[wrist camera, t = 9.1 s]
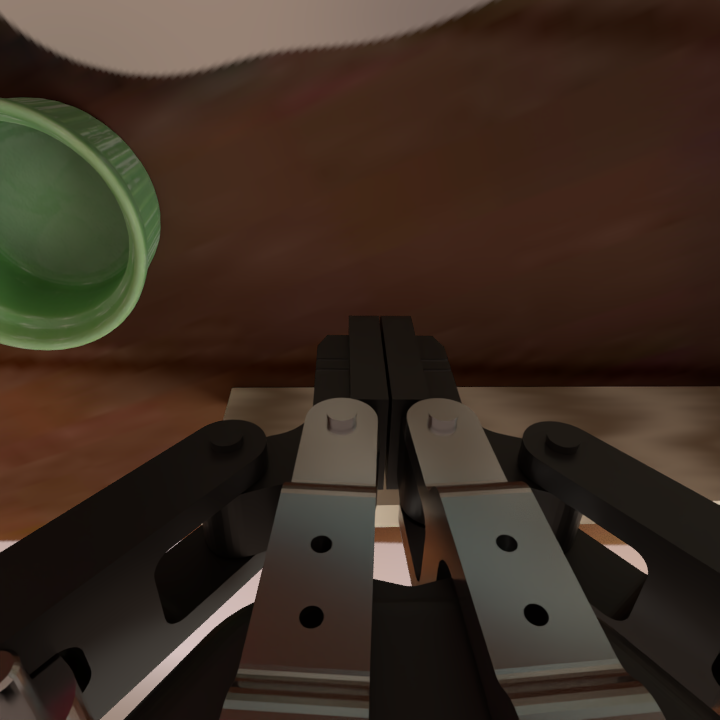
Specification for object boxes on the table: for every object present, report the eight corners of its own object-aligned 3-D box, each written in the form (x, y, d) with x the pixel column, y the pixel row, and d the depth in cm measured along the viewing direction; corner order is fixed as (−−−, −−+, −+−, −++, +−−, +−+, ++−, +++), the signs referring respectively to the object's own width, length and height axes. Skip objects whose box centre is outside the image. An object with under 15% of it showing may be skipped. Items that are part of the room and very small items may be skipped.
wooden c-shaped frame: (1102, -73, 19) (1539, -129, 12) (824, 404, 29) (971, 518, 23) (172, -111, 17) (68, -199, 10) (234, 407, 28) (202, 529, 21)
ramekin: (85, 337, 26) (42, 390, 22) (-103, 186, 22) (-193, 219, 18) (220, 220, 23) (198, 258, 19) (34, 24, 19) (-39, 23, 15)
